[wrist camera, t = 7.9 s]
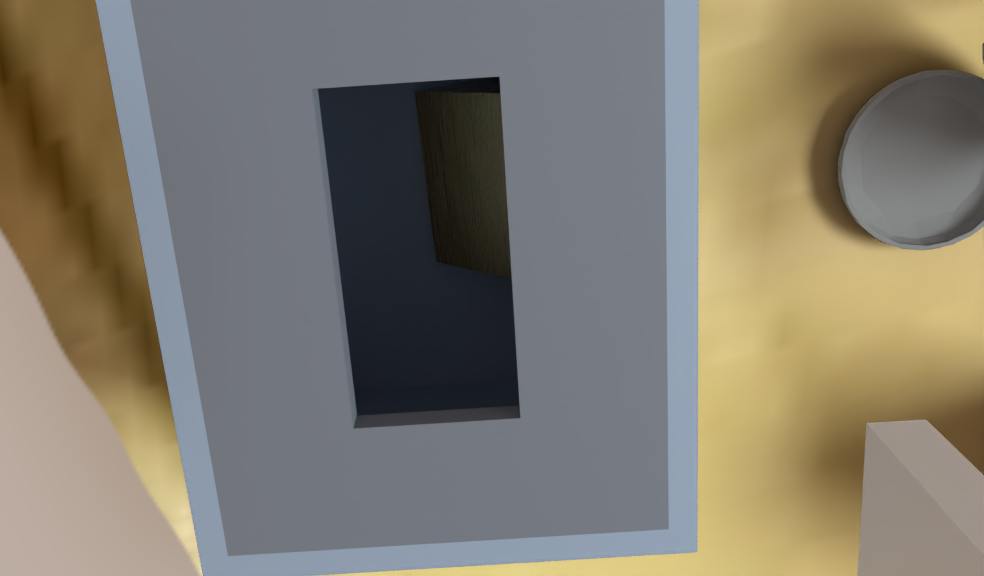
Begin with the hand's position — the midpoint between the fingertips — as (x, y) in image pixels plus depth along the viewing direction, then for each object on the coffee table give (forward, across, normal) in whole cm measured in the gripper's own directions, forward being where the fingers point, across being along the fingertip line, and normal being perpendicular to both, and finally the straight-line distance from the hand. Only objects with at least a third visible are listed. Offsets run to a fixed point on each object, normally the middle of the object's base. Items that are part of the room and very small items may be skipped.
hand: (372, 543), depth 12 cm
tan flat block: (+22, 0, -1) cm, 22 cm away
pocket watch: (+24, -19, -1) cm, 31 cm away
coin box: (+24, 0, -1) cm, 24 cm away
